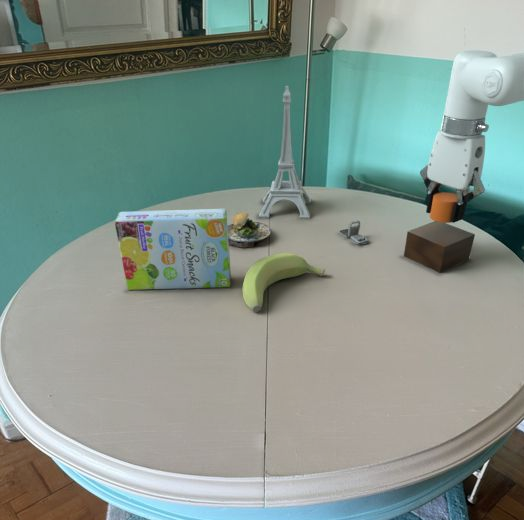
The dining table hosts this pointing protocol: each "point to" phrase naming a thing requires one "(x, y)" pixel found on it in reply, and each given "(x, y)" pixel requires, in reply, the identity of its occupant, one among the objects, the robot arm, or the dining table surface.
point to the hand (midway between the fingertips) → (443, 215)
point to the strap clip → (354, 233)
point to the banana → (272, 275)
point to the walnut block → (438, 245)
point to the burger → (246, 231)
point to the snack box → (174, 248)
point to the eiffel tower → (286, 163)
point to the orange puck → (443, 207)
